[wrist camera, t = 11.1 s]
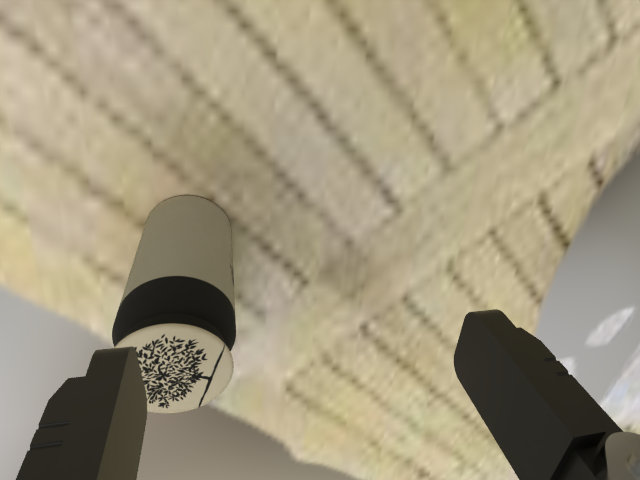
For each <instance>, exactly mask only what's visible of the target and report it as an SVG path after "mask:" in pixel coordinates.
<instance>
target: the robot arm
mask: <svg viewBox="0 0 640 480" xmlns="http://www.w3.org/2000/svg"><path fill="white" fill-rule="evenodd" d="M454 367H455V372H456V375H457V377H458V379H459V381H460V383H461V384H462V386H463V387H464V389H465V391H466V392H467V394H468V396H469V397H470V399H471V401H472V402H473V404H474V406H475V407H476V409H477V411H478V412H479V414H480V415H481V417H482V419H483V420H484V422H485V424H486V425H487V427H488V429H489V430H490V432H491V434H492V435H493V437H494V438H495V440H496V442H497V443H498V445H499V447H500V448H501V450H502V452H503V453H504V455H505V457H506V458H507V460H508V462H509V463H510V465H511V466H512V468H513V470H514V471H515V473H516V475H517V476H518V478H519V480H640V435H639V434H636V433H631V432H623V431H622V430H621V429H620V428H619V427H618V426H617V425H616V423H615V422H614V421H613V420H612V419H611V418H610V417H609V416H608V415H607V413H606V412H605V411H604V410H603V409H602V408H601V407H600V406H599V405H598V404H597V402H596V401H595V400H594V399H593V398H592V397H591V396H590V395H589V394H588V393H587V391H586V390H585V389H584V388H583V387H582V386H581V385H580V384H579V383H578V381H577V380H576V379H575V378H574V377H573V376H572V375H569V374H568V370H567V369H566V368H565V367H564V366H563V365H562V364H561V363H560V362H559V361H556V357H555V356H554V355H553V354H552V353H551V352H550V351H549V349H548V348H547V347H545V345H544V344H543V343H542V342H541V341H540V340H539V339H537V338H536V337H534V336H533V335H531V334H530V333H528V332H527V331H525V330H524V329H522V328H521V327H520V328H516V327H515V326H514V324H513V323H512V322H511V321H510V320H509V319H508V318H507V316H506V315H505V314H504V313H503V312H502V311H500V310H486V311H477V312H469V313H468V314H467V315H466V316H465V319H464V322H463V326H462V329H461V333H460V336H459V340H458V343H457V347H456V350H455V354H454ZM146 419H147V396H146V390H145V386H144V382H143V378H142V374H141V369H140V365H139V361H138V357H137V353H136V350H135V348H134V347H133V346H131V347H122V348H112V349H103V350H96V351H95V352H94V354H93V356H92V359H91V362H90V365H89V368H88V370H87V373H86V376H85V377H76V378H69V379H67V380H66V381H65V383H64V384H63V385H62V386H61V387H60V388H59V389H58V390H57V391H56V393H55V394H54V395H53V396H52V397H51V398H50V399H49V401H48V403H47V406H46V408H45V410H44V413H43V415H42V418H41V420H40V423H39V428H38V430H36V433H35V434H34V437H33V439H32V442H31V444H30V450H29V451H28V452H27V454H26V457H25V459H24V461H23V463H22V466H21V469H20V471H19V473H18V476H17V478H16V480H136V478H137V472H138V466H139V461H140V455H141V449H142V443H143V437H144V431H145V425H146Z"/></svg>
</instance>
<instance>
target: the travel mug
mask: <svg viewBox="0 0 640 480" xmlns="http://www.w3.org/2000/svg"><path fill="white" fill-rule="evenodd" d="M235 338H236V323H235V301H234V279H233V256H232V234H231V226H230V222H229V220H228V218H227V216H226V215H225V213H224V212H223V211H222V210H221V209H220V208H219V207H218V206H217V205H215V204H214V203H212V202H211V201H209V200H207V199H204V198H201V197H197V196H188V195H184V196H176V197H172V198H169V199H167V200H165V201H163V202H161V203H160V204H158V205H157V206H156V207H155V208H154V209H153V210H152V211H151V213H150V214H149V216H148V218H147V221H146V224H145V227H144V230H143V233H142V236H141V240H140V243H139V246H138V249H137V252H136V255H135V259H134V262H133V265H132V268H131V271H130V274H129V278H128V281H127V284H126V287H125V290H124V294H123V297H122V300H121V303H120V306H119V309H118V313H117V316H116V319H115V322H114V325H113V330H112V339H113V344H114V348H122V347H131V346H133V347H134V348H135V350H136V353H137V357H138V361H139V365H140V369H141V374H142V378H143V382H144V386H145V390H146V396H147V411H149V412H156V413H177V412H183V411H188V410H192V409H195V408H198V407H200V406H203V405H205V404H207V403H209V402H210V401H212V400H213V399H215V398H216V397H217V396H219V395H220V394H221V393H222V392H223V391H224V390H225V388H226V387H227V385H228V384H229V382H230V380H231V378H232V374H233V368H234V365H233V358H232V355H231V353H230V351H231V349H232V347H233V345H234V342H235Z"/></svg>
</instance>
